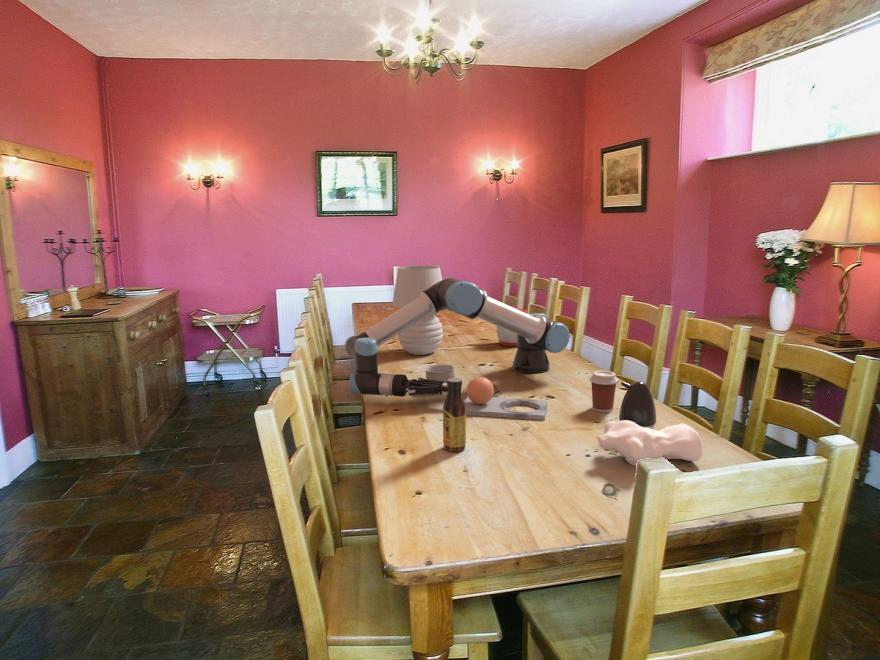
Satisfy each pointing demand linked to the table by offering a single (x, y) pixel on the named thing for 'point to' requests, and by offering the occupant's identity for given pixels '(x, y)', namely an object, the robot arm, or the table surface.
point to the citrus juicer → (508, 334)
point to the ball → (480, 390)
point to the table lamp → (407, 289)
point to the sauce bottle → (454, 417)
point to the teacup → (440, 372)
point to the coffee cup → (603, 390)
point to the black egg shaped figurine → (638, 405)
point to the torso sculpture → (651, 441)
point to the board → (500, 408)
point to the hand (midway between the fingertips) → (461, 388)
